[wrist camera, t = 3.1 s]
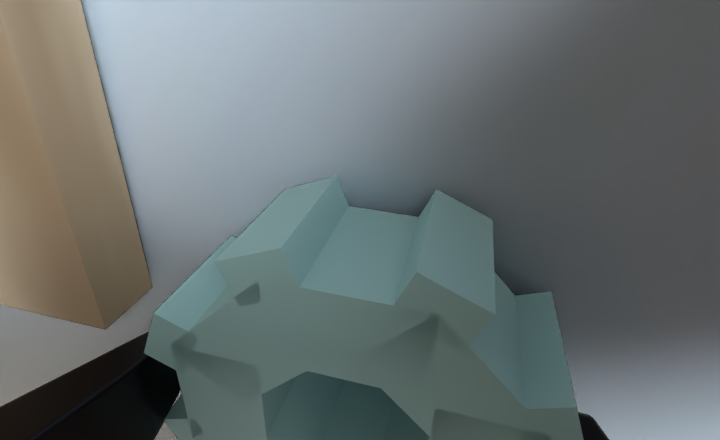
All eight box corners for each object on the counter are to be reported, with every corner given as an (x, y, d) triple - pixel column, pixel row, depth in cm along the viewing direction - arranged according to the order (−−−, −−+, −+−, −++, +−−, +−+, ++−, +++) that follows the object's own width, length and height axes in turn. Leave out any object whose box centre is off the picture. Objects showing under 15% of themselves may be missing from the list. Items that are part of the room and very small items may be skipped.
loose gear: (606, 212, 7) (661, 315, 5) (511, 474, 10) (518, 601, 8) (202, 156, 8) (104, 217, 6) (239, 403, 12) (185, 496, 10)
